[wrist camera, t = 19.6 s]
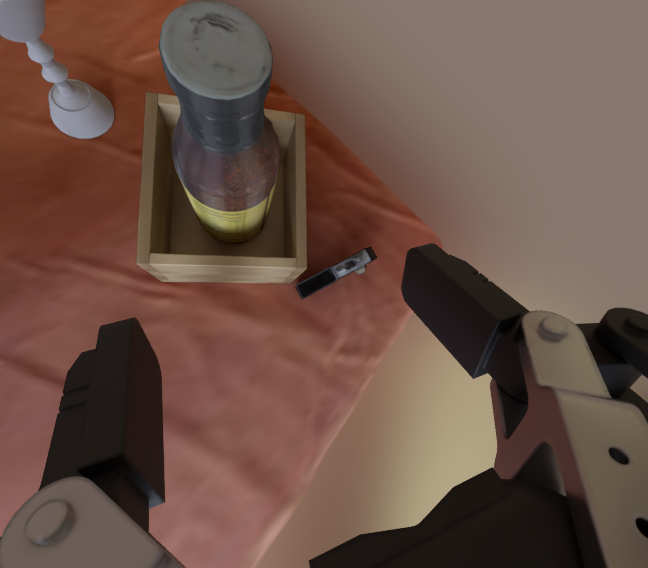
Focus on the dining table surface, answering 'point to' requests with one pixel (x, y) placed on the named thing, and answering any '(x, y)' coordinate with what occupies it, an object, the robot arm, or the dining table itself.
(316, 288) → the lighter
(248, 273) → the caddy
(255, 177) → the sauce bottle
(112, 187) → the dining table surface
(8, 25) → the chalice
